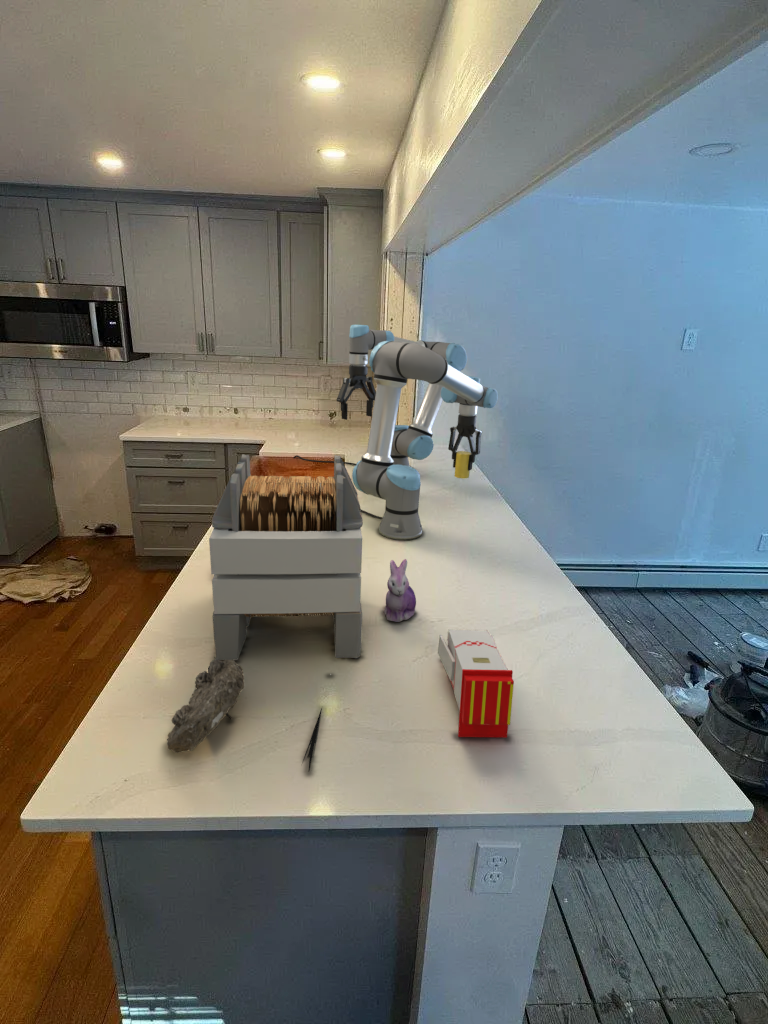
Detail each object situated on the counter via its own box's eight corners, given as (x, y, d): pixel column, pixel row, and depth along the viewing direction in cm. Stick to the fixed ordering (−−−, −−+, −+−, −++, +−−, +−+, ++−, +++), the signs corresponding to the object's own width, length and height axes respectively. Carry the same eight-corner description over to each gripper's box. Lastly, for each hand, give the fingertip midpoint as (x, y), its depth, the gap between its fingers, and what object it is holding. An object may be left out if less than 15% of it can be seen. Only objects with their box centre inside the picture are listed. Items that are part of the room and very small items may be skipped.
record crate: (234, 590, 156) (226, 444, 142) (353, 588, 159) (357, 447, 146) (212, 662, 124) (200, 485, 110) (361, 659, 128) (367, 486, 114)
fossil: (192, 660, 117) (244, 628, 112) (224, 691, 120) (276, 661, 115) (142, 746, 98) (202, 712, 93) (182, 779, 101) (242, 748, 96)
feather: (331, 679, 122) (336, 673, 122) (307, 777, 96) (313, 769, 95) (324, 675, 122) (329, 669, 121) (298, 772, 95) (304, 764, 95)
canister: (454, 474, 248) (456, 450, 244) (468, 475, 247) (471, 451, 243) (454, 477, 242) (456, 453, 238) (468, 479, 241) (471, 455, 238)
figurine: (392, 627, 141) (395, 572, 136) (374, 608, 149) (376, 556, 144) (425, 619, 145) (429, 566, 140) (405, 601, 154) (408, 550, 149)
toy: (488, 613, 130) (523, 677, 101) (484, 667, 133) (517, 744, 104) (435, 612, 130) (455, 676, 101) (432, 666, 133) (451, 743, 103)
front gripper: (492, 416, 234) (486, 470, 242) (449, 410, 243) (445, 462, 251) (486, 418, 228) (480, 474, 236) (442, 412, 237) (438, 466, 244)
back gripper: (340, 367, 217) (339, 422, 224) (386, 364, 234) (384, 416, 241) (328, 365, 222) (327, 419, 229) (374, 363, 239) (372, 413, 246)
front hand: (462, 468), depth 243 cm, fingers closed on canister, 6 cm apart
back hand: (356, 417), depth 235 cm, fingers open, 13 cm apart
